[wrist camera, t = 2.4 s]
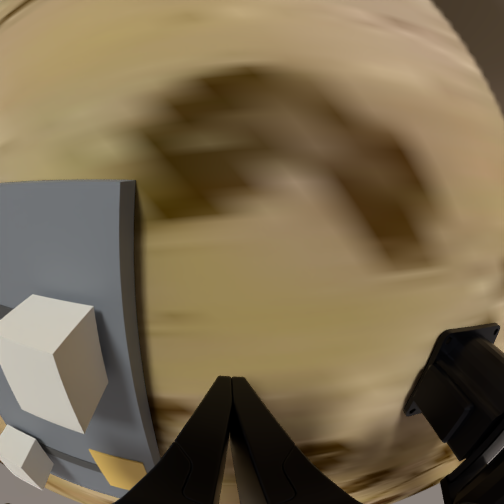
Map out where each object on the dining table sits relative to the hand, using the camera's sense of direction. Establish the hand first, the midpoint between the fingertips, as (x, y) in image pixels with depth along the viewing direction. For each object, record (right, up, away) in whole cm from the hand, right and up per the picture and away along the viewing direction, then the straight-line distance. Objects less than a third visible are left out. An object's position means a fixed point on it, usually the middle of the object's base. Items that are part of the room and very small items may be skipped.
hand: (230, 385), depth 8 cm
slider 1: (-16, -10, +3) cm, 19 cm away
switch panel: (-11, -4, +3) cm, 12 cm away
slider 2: (-6, +1, 0) cm, 7 cm away
